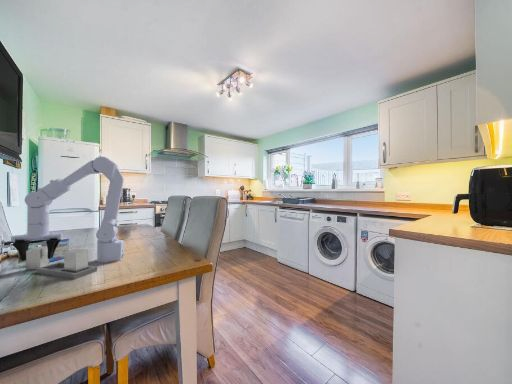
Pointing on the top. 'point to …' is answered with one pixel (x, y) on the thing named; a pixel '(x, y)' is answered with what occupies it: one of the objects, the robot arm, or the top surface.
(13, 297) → the top surface
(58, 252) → the medicine box
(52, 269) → the grey flat frame
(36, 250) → the block
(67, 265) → the billet
